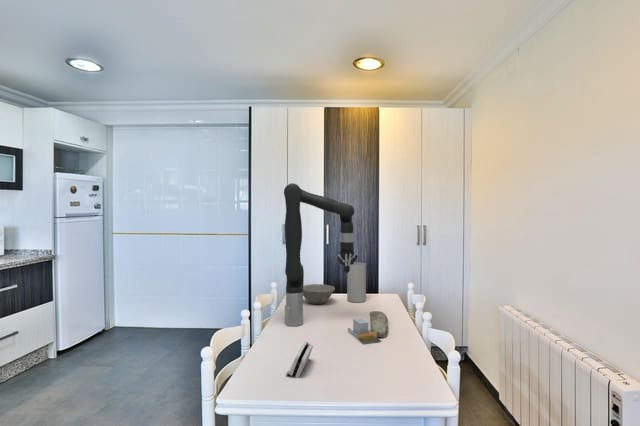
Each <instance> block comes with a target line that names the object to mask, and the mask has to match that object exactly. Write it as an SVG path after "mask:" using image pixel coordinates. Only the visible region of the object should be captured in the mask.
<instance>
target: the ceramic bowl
mask: <svg viewBox="0 0 640 426" xmlns="http://www.w3.org/2000/svg"><path fill="white" fill-rule="evenodd" d="M334 292H335V286H333V285H330V284H329V285H328V284H321V283H320V284H318V283H317V284H315V283H313V284H305V285H303V298H304V299H305V301H306V302H307V303H309V304H310V305H323V304H325V303H326V302H328V301H329V299H330V298H331V297H332V295H333V293H334Z"/></svg>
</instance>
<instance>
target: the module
mask: <svg viewBox="0 0 640 426" xmlns="http://www.w3.org/2000/svg"><path fill="white" fill-rule="evenodd" d="M352 322H353V323H352V330H353V331H354V332H355V333H356V334H361V333H368V330H369V321H367V320H366V319H364V318H363V317H356V318H352Z"/></svg>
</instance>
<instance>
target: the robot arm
mask: <svg viewBox="0 0 640 426" xmlns="http://www.w3.org/2000/svg"><path fill="white" fill-rule="evenodd" d="M283 196H284V200H285V218H284V219H285V220H284V243H285V253H286V257H285V259H286V260H285V269H284V273H285V276H286V284H285V304H284V324H285V325H286V326H287V327H298V326H302V325H304V296H303V286H304V278H305V277H304V275H305V273H304V265H303V264H302V263H301V249H302V243H303V242H302V240H303V227H302V226H303V224H302V217H301V216H302V215H301V203H303V204H306V205H310V206H313V207H316V208H318V209H320V210H322V211H325V212H328V213H332V214H336V215H339V220H340V235H339V253H338V255H335V259H336V260H337V261H338V262H339V264H340V265H342V266H343V272H344V273H345V274H347V273H349V271H350V265H353V263H354V262H357V261H356V260H357V259H358V258H359V255H357V254H356V253H355V251H354V248H355V246H354V243H355V242H354V241H355V239H354V237H355V236H354V224H353V216H354V214H355V208H354V207H353V206H352V205H350V204H349V203H345V202H342V201H337V200H335V199H333V198H329V197H326V196H323V195H318V194H314V193H311V192H309V191H306V190H304V189H302V188H301V187H300V186H299V184H296V183H289V184H287V185H286V186H285V187H284V189H283Z"/></svg>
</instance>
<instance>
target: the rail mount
mask: <svg viewBox="0 0 640 426" xmlns="http://www.w3.org/2000/svg"><path fill="white" fill-rule="evenodd" d="M347 333H348V334H350V335H351V336H352V337H354V338H355V339H356V340H357V341H358V342H359V343H361V344H362V345H370V344H377V343H381V342H382V340H380V339H379V337H377V333H376V332H372V331H371V329H370V330H369V329H368V333H361V334H356V333H355V332H354V331H353V329H352V328H350V327H347Z"/></svg>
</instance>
